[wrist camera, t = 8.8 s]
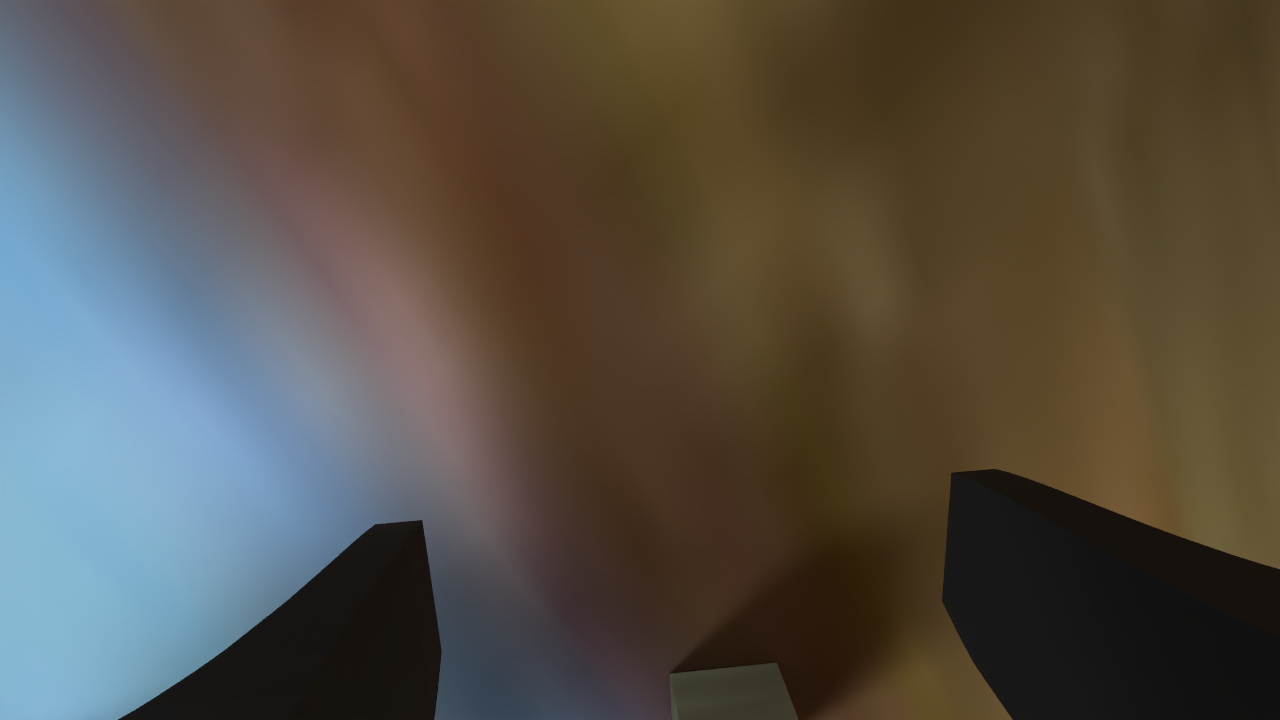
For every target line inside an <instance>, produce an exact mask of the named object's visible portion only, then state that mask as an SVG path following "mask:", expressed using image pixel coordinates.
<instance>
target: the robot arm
mask: <svg viewBox="0 0 1280 720" xmlns="http://www.w3.org/2000/svg"><path fill="white" fill-rule="evenodd" d="M942 602H943V604H944V606H945V608H946V610H947V612H948V614H949V616H950V618H951V620H952V622H953V624H954V626H955V628H956V630H957V632H958V634H959V636H960V638H961V640H962V642H963V644H964V646H965V648H966V649H967V651H968V653H969V655H970V657H971V659H972V661H973V663H974V664H975V666H976V667H977V669H978V670H979V671H980V673H981V674H982V676H983V677H984V679H985V680H986V682H987V683H988V685H989V686H990V688H991V689H992V690H993V692H994V693H995V695H996V696H997V698H998V699H999V700H1000V702H1001V703H1002V705H1003V706H1004V708H1005V709H1006V711H1007V712H1008V713H1009V715H1010V716H1011V718H1012V719H1013V720H1280V569H1277V568H1273V567H1270V566H1266V565H1263V564H1260V563H1256V562H1253V561H1250V560H1247V559H1244V558H1240V557H1237V556H1234V555H1231V554H1228V553H1225V552H1222V551H1219V550H1216V549H1214V548H1211V547H1208V546H1205V545H1202V544H1199V543H1196V542H1193V541H1190V540H1187V539H1185V538H1182V537H1179V536H1176V535H1173V534H1171V533H1168V532H1165V531H1163V530H1160V529H1157V528H1154V527H1152V526H1149V525H1146V524H1144V523H1141V522H1139V521H1136V520H1133V519H1131V518H1128V517H1126V516H1123V515H1120V514H1118V513H1115V512H1113V511H1110V510H1108V509H1105V508H1103V507H1100V506H1097V505H1095V504H1092V503H1090V502H1087V501H1085V500H1082V499H1080V498H1077V497H1075V496H1072V495H1070V494H1067V493H1064V492H1062V491H1059V490H1057V489H1054V488H1052V487H1049V486H1046V485H1044V484H1041V483H1038V482H1035V481H1033V480H1030V479H1027V478H1024V477H1021V476H1018V475H1015V474H1012V473H1008V472H1005V471H1001V470H997V469H989V470H977V471H966V472H955V473H951V487H950V501H949V514H948V528H947V541H946V555H945V568H944V582H943V595H942ZM440 661H441V645H440V638H439V631H438V624H437V617H436V611H435V604H434V597H433V590H432V584H431V577H430V570H429V563H428V556H427V550H426V543H425V536H424V529H423V523H422V520H419V521H408V522H397V523H386V524H375V525H374V526H373V527H371V528H370V529H369V530H367V531H366V532H365V533H364V534H362V535H361V536H360V537H359V538H358V539H357V540H356V541H354V542H353V543H352V544H351V545H350V546H349V547H348V548H347V549H345V550H344V551H343V552H342V553H341V554H340V555H339V556H338V557H336V558H335V559H334V560H333V561H332V562H331V563H330V564H329V565H328V566H326V567H325V568H324V569H323V570H322V571H321V572H320V573H318V574H317V575H316V576H315V577H314V578H313V579H312V580H310V581H309V582H308V583H307V584H306V585H305V586H304V587H302V588H301V589H300V590H299V591H298V592H297V593H296V594H294V595H293V596H292V597H291V598H290V599H289V600H287V601H286V602H285V603H284V604H283V605H281V606H280V607H279V608H278V609H276V610H275V611H274V612H273V613H271V614H270V615H269V616H267V617H266V618H265V619H264V620H262V621H261V622H260V623H259V624H257V625H256V626H255V627H254V628H252V629H251V630H250V631H249V632H247V633H246V634H245V635H243V636H242V637H241V638H240V639H238V640H237V641H236V642H235V643H233V644H232V645H231V646H230V647H228V648H227V649H226V650H224V651H223V652H221V653H220V654H219V655H217V656H216V657H215V658H213V659H212V660H210V661H209V662H208V663H206V664H205V665H203V666H202V667H200V668H199V669H198V670H196V671H195V672H193V673H192V674H190V675H189V676H187V677H186V678H184V679H183V680H181V681H180V682H178V683H177V684H175V685H173V686H172V687H170V688H169V689H167V690H166V691H164V692H163V693H161V694H160V695H158V696H157V697H155V698H154V699H152V700H150V701H149V702H147V703H146V704H144V705H142V706H141V707H139V708H137V709H136V710H134V711H132V712H131V713H129V714H127V715H125V716H123V717H122V718H120V719H118V720H434V717H435V709H436V700H437V692H438V682H439V672H440Z"/></svg>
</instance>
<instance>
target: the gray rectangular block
mask: <svg viewBox="0 0 1280 720" xmlns="http://www.w3.org/2000/svg"><path fill="white" fill-rule="evenodd" d="M670 692H671V715H672V720H799V719H798V717H797V714H796V712H795V709H794V706H793V704H792V701H791V698H790V696H789V693H788V691H787V688H786V685H785V683H784V680H783V677H782V675H781V672H780V670H779V667H778V664H777V663H768V664H758V665H749V666H739V667H729V668H720V669H710V670H701V671H691V672H682V673H672V674H670Z"/></svg>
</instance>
